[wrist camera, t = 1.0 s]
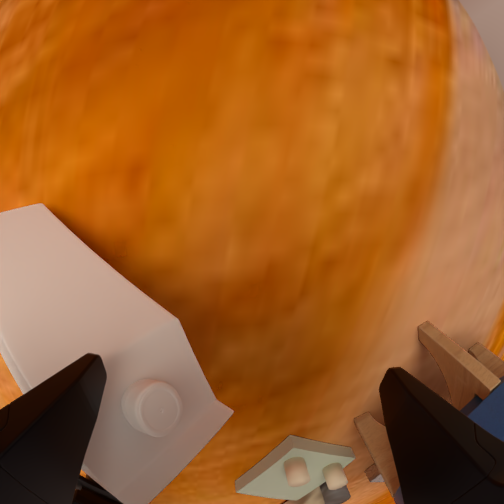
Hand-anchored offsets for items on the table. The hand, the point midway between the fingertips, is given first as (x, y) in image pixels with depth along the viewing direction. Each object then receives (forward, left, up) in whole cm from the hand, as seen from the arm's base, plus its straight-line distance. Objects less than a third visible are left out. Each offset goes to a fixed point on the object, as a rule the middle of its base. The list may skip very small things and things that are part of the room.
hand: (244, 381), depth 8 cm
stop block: (-18, -37, -14) cm, 43 cm away
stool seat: (-20, -21, -14) cm, 32 cm away
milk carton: (-8, +16, -10) cm, 20 cm away
